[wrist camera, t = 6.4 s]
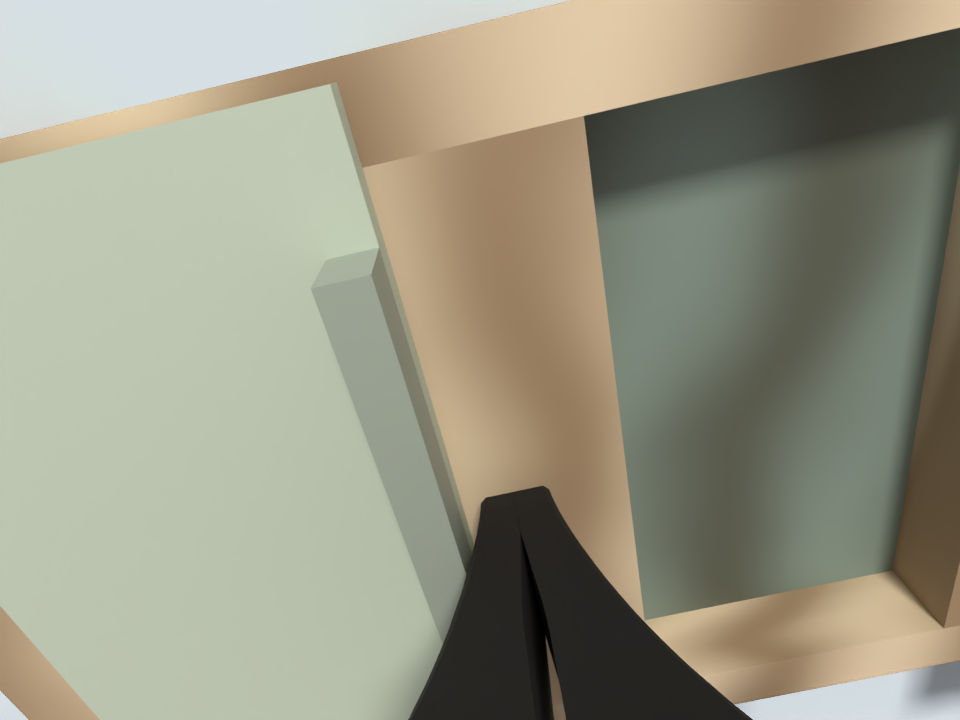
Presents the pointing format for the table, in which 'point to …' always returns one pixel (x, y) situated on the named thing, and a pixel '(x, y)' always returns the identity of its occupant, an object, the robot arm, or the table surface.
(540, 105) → the wooden frame
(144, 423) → the lid
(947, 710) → the table surface
